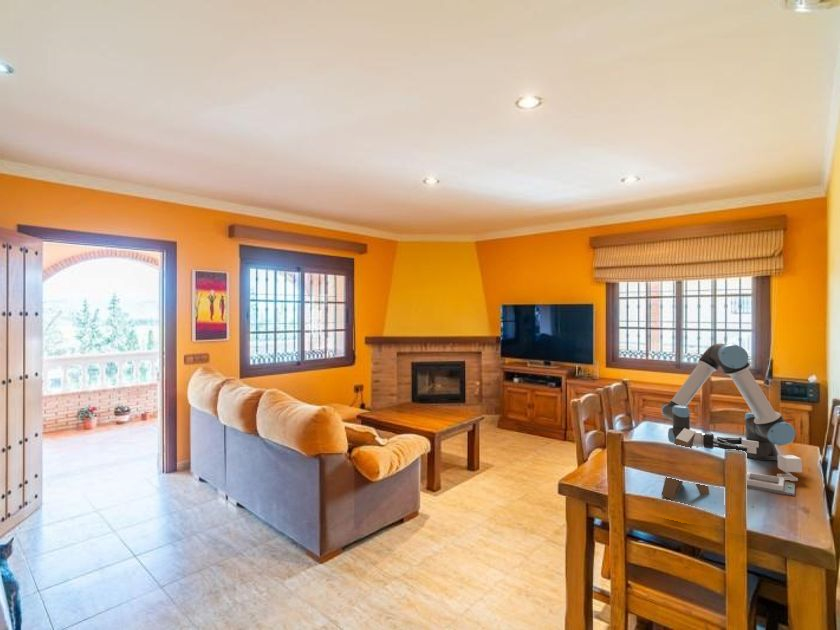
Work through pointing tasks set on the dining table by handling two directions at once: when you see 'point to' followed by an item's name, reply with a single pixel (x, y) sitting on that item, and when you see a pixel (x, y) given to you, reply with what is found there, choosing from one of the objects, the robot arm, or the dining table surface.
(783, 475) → the security camera
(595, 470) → the dining table surface
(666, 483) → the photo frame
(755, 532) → the dining table surface
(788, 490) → the camera dock
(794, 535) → the dining table surface
